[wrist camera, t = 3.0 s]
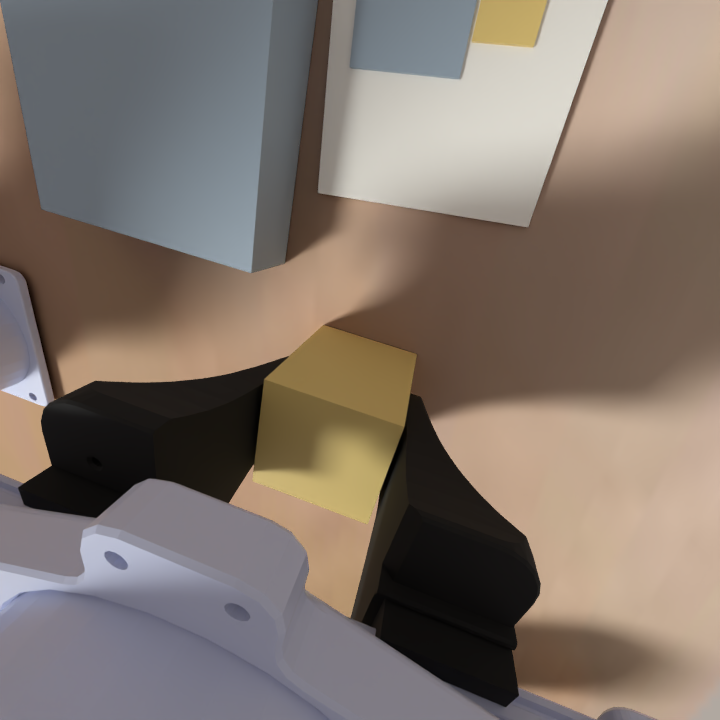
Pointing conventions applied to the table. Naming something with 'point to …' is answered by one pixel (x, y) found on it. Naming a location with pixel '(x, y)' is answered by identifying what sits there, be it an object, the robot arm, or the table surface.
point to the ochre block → (334, 421)
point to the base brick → (167, 117)
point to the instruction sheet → (451, 101)
